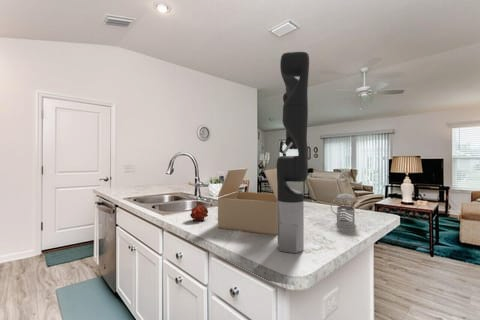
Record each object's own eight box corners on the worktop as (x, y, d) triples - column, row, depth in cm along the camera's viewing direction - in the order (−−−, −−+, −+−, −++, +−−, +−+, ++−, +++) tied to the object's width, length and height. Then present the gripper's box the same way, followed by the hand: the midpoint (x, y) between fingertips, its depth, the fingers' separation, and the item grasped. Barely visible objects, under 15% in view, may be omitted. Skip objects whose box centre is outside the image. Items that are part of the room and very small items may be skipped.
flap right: (277, 201, 101) (278, 200, 101) (263, 170, 103) (264, 170, 103) (288, 193, 123) (289, 193, 122) (276, 168, 125) (277, 168, 125)
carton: (276, 235, 101) (276, 202, 101) (217, 228, 112) (217, 198, 112) (288, 221, 123) (288, 194, 123) (238, 216, 134) (238, 191, 134)
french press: (358, 228, 110) (358, 174, 110) (331, 226, 114) (331, 173, 114) (355, 223, 119) (355, 173, 119) (330, 221, 123) (330, 172, 123)
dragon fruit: (208, 220, 132) (193, 229, 122) (198, 210, 135) (182, 218, 125) (214, 209, 128) (199, 217, 118) (203, 199, 131) (188, 206, 121)
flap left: (229, 170, 110) (228, 169, 110) (218, 197, 112) (217, 196, 112) (247, 168, 131) (247, 167, 131) (237, 190, 133) (237, 190, 134)
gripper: (280, 128, 122) (280, 160, 121) (308, 128, 121) (308, 160, 121) (278, 130, 129) (278, 160, 129) (305, 130, 129) (305, 161, 129)
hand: (293, 160), depth 125 cm, fingers open, 8 cm apart
